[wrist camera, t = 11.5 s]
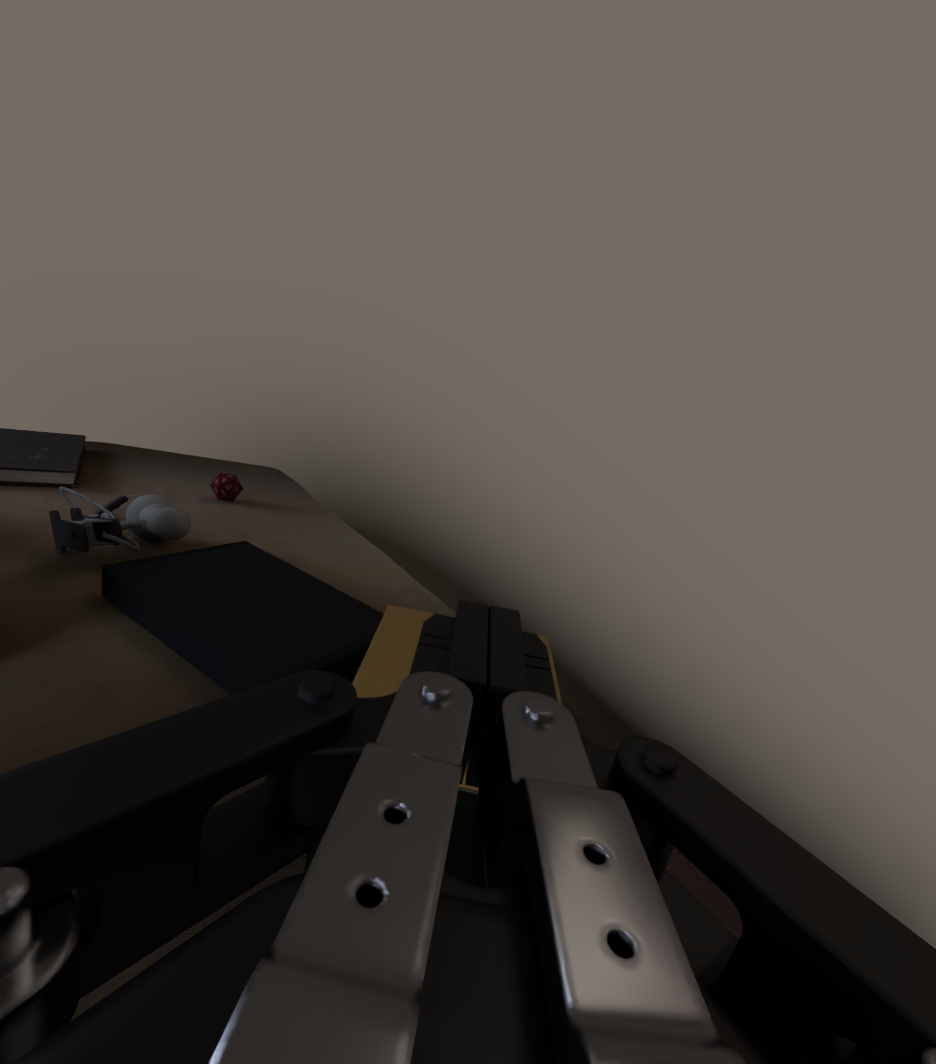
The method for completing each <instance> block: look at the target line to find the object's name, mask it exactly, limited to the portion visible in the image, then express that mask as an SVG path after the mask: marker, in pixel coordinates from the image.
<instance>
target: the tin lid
mask: <svg viewBox="0 0 936 1064" xmlns="http://www.w3.org/2000/svg"><path fill="white" fill-rule="evenodd" d="M432 615H434V613H429V612H424V611H419V610H414V609H409V608H404V607H399V606H395V605H390V604H389V605H388V607H387V609H386V611H385V613H384V615H383V618H382V620H381V622H380V624H379V626H378V628H377V631H376V633H375V635H374V637H373V639H372V641H371V644H370V646H369V648H368V650H367V652H366V655H365V657H364V659H363V661H362V663H361V665H360V668H359V670H358V672H357V674H356V676H355V679H354V681H353V683H352V684H353V686H354V687H355V689H356V692H357V698H372V697H381V696H386V695H390V694H392V693H395V692H397V691H398V689H399V687H400V684H401V683H402V681H403V680H404V679H405V678H406V677H408V676H409V673H410V670H411V666H412V662H413V659H414V655H415V652H416V648H417V644H418V641H419V637H420V634H421V630H422V626H423V623H424V621H425V620H427V619H428V618H429V617H431V616H432ZM537 636H538V637H539V638H540V639H541V640H542V641H543V643H544V644H545V645H546V646H547V649H548V654H549V661H550V664H551V672H552V674H553V679H554V684H555V689H556V694H557V699H558V702H560V703H561V704H562V701H561V696H560V691H559V686H558V682H557V677H556V673H555V668H554V663H553V658H552V654H551V649H550V644H549V640H548V637H546V636H541V635H537ZM465 780H466V770H465V774H464V778H463V782H462V784H459V787H460V788H465V789H470V790H475V791H478V787H473V786H468V785H465Z"/></svg>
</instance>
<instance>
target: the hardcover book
mask: <svg viewBox="0 0 936 1064" xmlns="http://www.w3.org/2000/svg"><path fill="white" fill-rule="evenodd" d="M85 437H86V436H83V435H71V434H60V433H48V432H37V431H26V430H14V429H3V428H0V484H5V485H28V486H51V487H74V488H76V487H77V484H78V480H79V476H80V471H81V467H82V463H83V458H84V454H85V450H86V447H83V446H84V442H85Z"/></svg>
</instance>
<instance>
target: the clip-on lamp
mask: <svg viewBox="0 0 936 1064" xmlns="http://www.w3.org/2000/svg"><path fill="white" fill-rule="evenodd" d="M62 490H65V491H68V492H70V493H72V494H74V495H76V496H78V497H80V498H82V499H84V500H86V501H87V502H89V503H91V504H93V505H94V506H96V507H98V508H99V509H98V510H97V511H95V514H94V515H86V514H84V513H82V512H81V509H80V508H76V507H75V506H74V505H73V504H72V503H71V502H70V501H69V500H68V499H67V497H66V496H65V495H64V493H63V491H62ZM59 491H60V494H61V495H62V496H63V498H64V499H65V500H66V501H67V502H68V503H69V504H70V506H71V507H73V508H71V509H70V513H71V519H72V521H65V520H61V519H60V514H59V512H58V511H50V512H49V514H50V519H51V525H52V530H53V535H54V540H55V545H56V550H57V552H58V553H66V547H67V548H70V549H73V550H77V551H80V552H86V551H88V550H89V548H92V547H93V546H103V545H122V546H124V547H126V548H128V549H130V550H132V551H134V552H138V551H139V550H140V546H139V545H138V544H137V543H136V542H135V541H134V540H133V539H132V538H131V537H129V536H127V535H123V534H122V530H126V529H130V530H131V531H132V532H133V533H134V534H135V535H137V536H139V537H140V538H144V539H148V540H157V539H160V538H163V539H167V540H178V539H181V538H183V537H184V536H186V535H187V533H188V532H189V530H190V528H191V520H190V517H189V515H188V514H187V513H186V512H184V511H183V510H180V509H177V508H176V507H175V506H174V505H173V503H172V502H171V501H169V500H168V499H166V498H165V497H162V496H159V495H144V496H140V497H138V498H137V499H135V500H133V502H132V503H131V504H130V505H129V506H128V508H127V511H126V521H119V520H117V519H115V518H114V515H113V514H112V513H111V512H112V511H113V510H115V509H116V508H119V506H120V505H122V504H123V503H125V502H127V501H128V500H129V499H128V498H132V497H133V496H132V495H127V496H120V497H118V498H117V499H115V500H113V501H112V502H110V503H108V504H107V505H105V506H103V507H102V506H101V505H99V504H97V503H96V502H94V501H92V500H90V499H89V498H87V497H85V496H83V495H81V494H79V493H77V492H75V491H73V490H71V489H68V488H66V487H59ZM82 515H84V516H86V517H84V516H82ZM108 515H110V516H111V517H112V518H109V516H108ZM97 516H101V518H97ZM124 540H126V541H128V542H129V543H131V544H132V545H131V544H129V543H128V542H126V541H124Z"/></svg>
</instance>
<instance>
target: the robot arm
mask: <svg viewBox="0 0 936 1064" xmlns="http://www.w3.org/2000/svg"><path fill="white" fill-rule="evenodd" d="M465 770H466V780H465V785H468V786H473V787H478V799H477V803H476V807H475V811H474V815H473V818H472V832H473V855H474V878H475V886H474V885H471V884H469V883H467V882H465V881H463V880H461V879H458V878H456V877H454V876H452V875H450V874H447V873H445V872H443V871H444V866H445V860H446V855H447V849H448V844H449V838H450V833H451V827H452V822H453V816H454V811H455V805H456V800H457V795H458V789H459V784H462V782H463V778H464V774H465ZM265 775H267V777H266V782H264V783H262V784H260V785H258V786H256V787H254V788H252V789H250V790H248V791H246V792H244V793H242V794H240V795H238V796H236V797H234V798H232V799H230V800H228V801H226V802H224V803H222V804H220V805H218V806H216V807H214V808H212V809H210V808H211V807H212V806H213V805H214V804H215V803H216V802H217V801H218V800H219V799H221V798H222V797H223V796H225V795H227V794H228V793H230V792H232V791H234V790H236V789H239V788H241V787H243V786H245V785H247V784H249V783H251V782H253V781H255V780H257V779H259V778H261V777H263V776H265ZM317 845H319V847H318V849H317V851H316V853H315V855H314V857H313V860H312V862H311V864H310V866H309V868H308V870H307V872H304V873H301V874H297V875H294V876H290V877H288V878H285V879H283V880H280V881H278V882H276V883H273V884H271V885H269V886H267V887H266V888H264V889H262V890H260V891H258V892H256V893H255V894H253V895H251V896H250V897H248V898H247V899H245V900H244V901H242V902H241V903H240V904H238V905H237V906H235V907H234V908H232V909H231V910H230V911H228V912H227V913H225V914H224V915H222V916H221V917H220V918H218V919H217V920H215V921H214V922H212V923H211V924H210V925H208V926H207V927H205V928H204V929H202V930H201V931H200V932H198V933H197V934H195V935H194V936H192V937H191V938H190V939H188V940H187V941H185V942H184V943H182V944H181V945H180V946H178V947H177V948H175V949H174V950H172V951H171V952H169V953H168V954H167V955H165V956H164V957H162V958H161V959H159V960H158V961H157V962H155V963H154V964H152V965H151V966H149V967H148V968H147V969H145V970H144V971H142V972H141V973H139V974H138V975H137V976H135V977H134V978H132V979H131V980H129V981H128V982H127V983H125V984H124V985H122V986H121V987H119V988H118V989H117V990H115V991H114V992H112V993H111V994H109V995H108V996H107V997H105V998H104V999H102V1000H101V1001H99V1002H98V1003H97V1004H95V1005H94V1006H92V1007H91V1008H89V1009H88V1010H87V1011H85V1012H84V1013H82V1014H81V1015H79V1016H78V1017H77V1018H75V1019H74V1020H72V1021H71V1019H72V1017H73V1015H74V1013H75V1011H76V1008H77V1005H78V1002H79V999H80V998H82V997H84V996H85V995H87V994H88V993H90V992H91V991H93V990H94V989H96V988H97V987H99V986H101V985H102V984H104V983H105V982H107V981H108V980H110V979H111V978H113V977H114V976H116V975H118V974H119V973H121V972H122V971H124V970H125V969H127V968H128V967H130V966H132V965H133V964H135V963H136V962H138V961H139V960H141V959H142V958H144V957H145V956H147V955H149V954H150V953H152V952H153V951H155V950H156V949H158V948H159V947H161V946H162V945H164V944H166V943H167V942H169V941H170V940H172V939H173V938H175V937H176V936H178V935H179V934H181V933H183V932H184V931H186V930H187V929H189V928H190V927H192V926H193V925H195V924H196V923H198V922H200V921H201V920H203V919H204V918H206V917H207V916H209V915H210V914H212V913H213V912H215V911H217V910H218V909H220V908H221V907H223V906H224V905H226V904H227V903H229V902H230V901H232V900H234V899H235V898H237V897H238V896H240V895H241V894H243V893H244V892H246V891H248V890H249V889H251V888H252V887H254V886H255V885H257V884H258V883H260V882H261V881H263V880H265V879H266V878H268V877H269V876H271V875H272V874H274V873H275V872H277V871H278V870H280V869H282V868H283V867H285V866H286V865H288V864H289V863H291V862H292V861H294V860H295V859H297V858H299V857H300V856H302V855H303V854H305V853H306V852H308V851H309V850H311V849H312V848H314V847H316V846H317ZM674 846H675V847H676V848H677V849H678V850H679V851H680V852H681V853H682V854H683V855H684V856H685V857H686V858H688V859H689V860H690V861H691V862H692V863H693V864H694V865H695V866H696V867H697V868H698V869H699V870H701V871H702V872H703V873H704V874H705V875H706V876H707V877H708V878H709V879H710V880H711V881H712V882H713V883H715V884H716V885H717V886H718V887H719V888H720V889H721V890H722V891H723V892H724V893H725V894H726V895H727V896H728V897H729V898H730V899H731V900H732V902H733V903H734V904H735V906H736V907H737V909H738V911H739V914H740V916H741V920H742V925H743V930H742V934H741V937H740V939H739V940H738V939H737V938H736V937H734V936H733V935H732V934H731V933H730V932H729V931H728V930H727V929H726V928H725V927H724V926H723V925H722V924H721V923H720V922H719V921H718V920H717V919H716V918H715V917H714V916H713V915H712V914H711V913H710V912H709V911H708V910H707V909H706V908H705V907H704V906H703V905H702V904H700V903H699V902H698V901H697V900H696V899H695V898H694V897H693V896H692V895H691V894H690V893H689V892H688V891H687V890H686V889H685V888H684V887H683V886H682V885H681V884H680V883H679V882H678V881H677V880H676V879H675V878H674V877H673V876H672V875H671V874H670V873H669V872H668V871H667V870H666V869H665V867H666V865H667V863H668V860H669V858H670V855H671V853H672V850H673V848H674ZM70 1021H71V1022H70ZM0 1064H936V949H935V948H933V947H932V946H931V945H929V944H928V943H927V942H925V941H924V940H923V939H922V938H920V937H919V936H917V935H916V934H915V933H913V932H912V931H911V930H910V929H908V928H907V927H906V926H905V925H903V924H902V923H901V922H899V921H898V920H897V919H895V918H894V917H893V916H892V915H890V914H889V913H887V912H886V911H885V910H884V909H882V908H881V907H880V906H879V905H877V904H876V903H875V902H873V901H872V900H871V899H869V898H868V897H867V896H865V895H864V894H863V893H861V892H860V891H859V890H858V889H856V888H855V887H854V886H853V885H851V884H850V883H848V882H847V881H846V880H845V879H843V878H842V877H841V876H839V875H838V874H837V873H836V872H834V871H833V870H832V869H830V868H829V867H828V866H826V865H825V864H824V863H822V862H821V861H820V860H819V859H817V858H816V857H815V856H813V855H812V854H811V853H810V852H808V851H807V850H806V849H804V848H803V847H802V846H800V845H799V844H798V843H796V842H795V841H794V840H793V839H791V838H790V837H789V836H787V835H786V834H785V833H783V832H782V831H781V830H779V829H778V828H777V827H776V826H774V825H773V824H772V823H770V822H769V821H767V819H765V818H764V817H762V816H761V815H760V814H759V813H757V812H756V811H755V810H753V809H752V808H751V807H749V806H748V805H747V804H745V803H744V802H743V801H742V800H740V799H739V798H738V797H736V796H735V795H734V794H733V793H731V792H730V791H729V790H727V789H726V788H725V787H723V786H722V785H721V784H720V783H718V782H717V781H716V780H714V779H713V778H712V777H710V776H709V775H707V774H706V773H705V772H704V771H703V770H701V769H700V768H699V767H697V766H696V765H695V764H693V763H692V762H691V761H690V760H688V759H687V758H686V757H684V756H683V755H682V754H680V753H679V752H678V751H676V750H675V749H673V748H671V747H670V746H668V745H666V744H664V743H662V742H659V741H657V740H653V739H650V738H645V737H630V738H627V739H625V740H623V741H622V742H621V743H620V745H619V748H618V751H617V752H615V751H612V750H610V749H608V748H605V747H603V746H601V745H598V744H596V743H594V742H592V741H589V740H588V739H586V738H584V737H582V736H581V735H579V732H578V729H577V726H576V723H575V720H574V718H573V716H572V714H571V713H570V711H569V710H568V709H567V708H566V707H565V706H564V705H562V704H561V703H560V702H558V699H557V694H556V689H555V684H554V679H553V674H552V672H551V664H550V661H549V654H548V649H547V646H546V645H545V644H544V643H543V641H542V640H541V639H540V638H539V637H538V636H537V635H536V634H532V633H527V632H522V631H521V624H520V614H519V611H516V610H511V609H507V608H502V607H497V606H492V605H490V607H489V609H488V605H487V604H482V603H477V602H472V601H468V600H463V599H460V600H459V603H458V607H457V612H456V617H455V618H454V617H449V616H444V615H440V614H434V615H432V616H431V617H429V618H428V619H427V620H425V621H424V623H423V626H422V630H421V634H420V637H419V641H418V644H417V648H416V652H415V655H414V659H413V662H412V666H411V670H410V673H409V676H408V677H406V678H405V679H404V680H403V681H402V683H401V684H400V687H399V689H398V691H397V692H395V693H392V694H390V695H386V696H381V697H372V698H357V692H356V689H355V687H354V686H353V684H352V683H351V682H350V681H349V680H347V679H346V678H344V677H342V676H340V675H338V674H335V673H332V672H328V671H321V670H310V671H302V672H298V673H294V674H291V675H288V676H286V677H283V678H280V679H277V680H274V681H271V682H268V683H265V684H262V685H259V686H256V687H253V688H251V689H248V690H245V691H242V692H239V693H236V694H233V695H230V696H227V697H224V698H221V699H218V700H216V701H213V702H210V703H207V704H204V705H201V706H198V707H195V708H192V709H189V710H186V711H183V712H181V713H178V714H175V715H172V716H169V717H166V718H163V719H160V720H157V721H154V722H151V723H149V724H146V725H143V726H140V727H137V728H134V729H131V730H128V731H125V732H122V733H119V734H116V735H114V736H111V737H108V738H105V739H102V740H99V741H96V742H93V743H90V744H87V745H84V746H81V747H79V748H76V749H73V750H70V751H67V752H64V753H61V754H58V755H55V756H52V757H49V758H46V759H44V760H41V761H38V762H35V763H32V764H29V765H26V766H23V767H20V768H17V769H14V770H11V771H9V772H6V773H3V774H0Z"/></svg>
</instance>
